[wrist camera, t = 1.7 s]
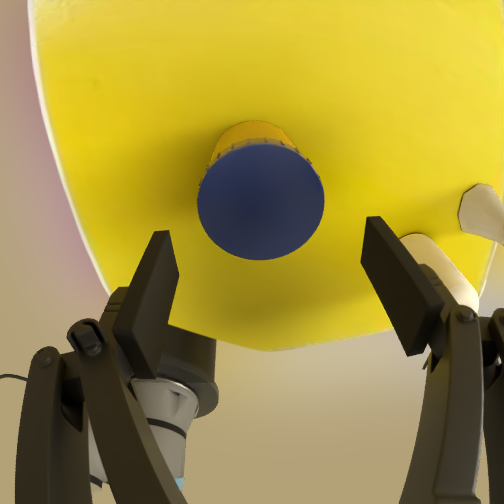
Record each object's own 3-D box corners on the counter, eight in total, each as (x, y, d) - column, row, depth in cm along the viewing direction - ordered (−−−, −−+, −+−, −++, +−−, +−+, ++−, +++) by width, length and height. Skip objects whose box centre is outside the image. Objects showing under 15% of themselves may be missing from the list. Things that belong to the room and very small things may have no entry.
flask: (495, 178, 30) (545, 212, 21) (491, 224, 33) (533, 263, 25) (457, 188, 31) (508, 227, 22) (455, 237, 34) (497, 282, 26)
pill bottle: (417, 218, 33) (489, 299, 20) (441, 255, 36) (501, 332, 23) (369, 261, 36) (421, 355, 23) (399, 292, 39) (445, 377, 26)
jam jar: (217, 201, 31) (208, 258, 22) (208, 124, 27) (192, 149, 18) (295, 196, 31) (318, 250, 22) (294, 118, 27) (322, 140, 18)
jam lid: (208, 250, 23) (205, 265, 22) (192, 142, 19) (188, 149, 17) (316, 243, 23) (322, 256, 22) (319, 134, 19) (327, 140, 17)
